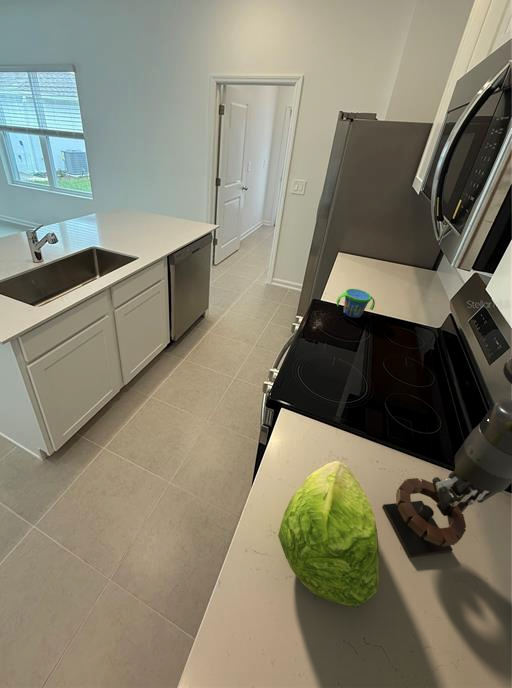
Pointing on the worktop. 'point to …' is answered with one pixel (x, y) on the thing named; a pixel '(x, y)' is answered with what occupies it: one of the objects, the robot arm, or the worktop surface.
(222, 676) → the worktop surface
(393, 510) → the stand
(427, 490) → the ring
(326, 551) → the lettuce
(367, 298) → the snack cup
